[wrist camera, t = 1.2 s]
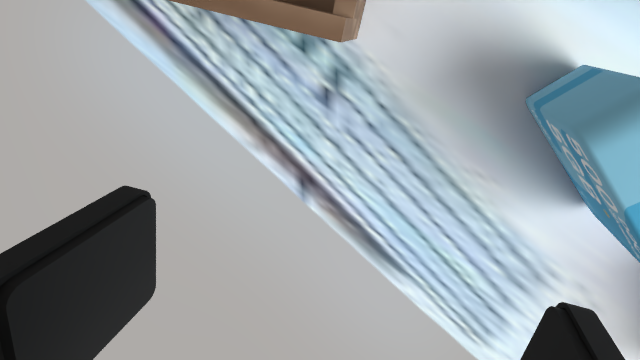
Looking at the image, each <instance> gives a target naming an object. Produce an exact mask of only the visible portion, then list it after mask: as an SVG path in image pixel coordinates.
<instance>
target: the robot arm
mask: <svg viewBox="0 0 640 360" xmlns="http://www.w3.org/2000/svg"><path fill="white" fill-rule="evenodd" d="M155 288H156V203H155V201H154V199H152V198H151V195H150V193H149V192H147V191H145V190H141V189H137V188H133V187H129V186H122V187H120V188H118V189H116V190H115V191H113V192H111V193H109V194H107V195H106V196H104V197H102V198H100V199H98V200H96V201H95V202H93V203H91V204H89V205H87V206H86V207H84V208H82V209H80V210H79V211H77V212H75V213H73V214H71V215H69V216H68V217H66V218H64V219H62V220H61V221H59V222H57V223H55V224H53V225H51V226H50V227H48V228H46V229H44V230H42V231H40V232H39V233H37V234H35V235H33V236H32V237H30V238H28V239H26V240H24V241H22V242H21V243H19V244H17V245H15V246H13V247H12V248H10V249H8V250H6V251H4V252H3V253H1V254H0V360H93V358H95V357H96V356H97V354H98V353H99V352H100V351H101V350H102V349H103V348H104V347H105V346H106V345H107V344H108V343H109V342H110V341H111V340H112V339H113V338H114V337H115V336H116V335H117V334H118V332H119V331H120V330H121V329H122V328H123V327H124V326H125V325H126V324H127V323H128V322H129V321H130V320H131V319H132V318H133V317H134V316H135V315H136V314H137V313H138V311H140V309H141V308H142V307H143V306H144V305H145V304H146V303H147V302H148V301H149V300H150V299H151V297H152V296H153V293H154V291H155ZM521 360H625V359H624V357H623V356H622V354H621V352H620V351H619V349H618V348H617V346H616V345H615V343H614V341H613V340H612V338H611V337H610V335H609V334H608V332H607V331H606V329H605V327H604V326H603V324H602V323H601V321H600V320H599V318H598V316H597V315H596V314H595V312H594V311H592V310H590V309H587V308H583V307H579V306H575V305H572V304H568V303H564V302H562V303H559V304H558V305H557V306H556V307H553V306H551V307H549V308H547V310H546V311H545V313H544V315H543V317H542V319H541V321H540V323H539V325H538V327H537V329H536V331H535V333H534V334H533V336H532V338H531V340H530V342H529V344H528V346H527V348H526V350H525V352H524V354H523V356H522V358H521Z"/></svg>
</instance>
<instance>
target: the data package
mask: <svg viewBox="0 0 640 360" xmlns="http://www.w3.org/2000/svg"><path fill="white" fill-rule="evenodd" d="M526 104H527V106H528V108H529V110H530V112H531V114H532V115H533V117H534V119H535V120H536V122H537V124H538V125H539V127H540V129H541V130H542V132H543V134H544V135H545V137H546V139H547V140H548V142H549V144H550V145H551V147H552V149H553V150H554V152H555V154H556V155H557V157H558V159H559V160H560V162H561V164H562V165H563V167H564V169H565V170H566V172H567V174H568V175H569V177H570V179H571V180H572V182H573V184H574V185H575V187H576V189H577V190H578V192H579V194H580V195H581V197H582V199H583V200H584V202H585V203H586V205H587V206H588V208H589V209H590V210H591V212H592V213H593V214H594V215H595V217H596V218H597V219H598V220H599V221H600V222H601V223H602V224H603V225H604V226H605V227H606V228H607V229H608V230H609V231H610V232H611V233H612V234H613V235H614V236H615V237H616V238H617V240H618V241H619V242H620V243H621V244H622V245H623V246H624V247H625V248H626V249H627V250H628V251H629V252H630V253H631V254H632V255H633V256H634V257H635V258H636V259H637V260H638V261H639V262H640V77H636V76H631V75H627V74H623V73H618V72H614V71H610V70H605V69H601V68H596V67H592V66H588V65H582V66H580V67H578V68H577V69H575V70H573V71H572V72H570V73H568V74H567V75H565V76H563V77H561V78H560V79H558V80H556V81H555V82H553V83H551V84H549V85H548V86H546V87H544V88H543V89H541V90H539V91H538V92H536V93H534V94H532V95H531V96H529V97H528V98H527V99H526Z"/></svg>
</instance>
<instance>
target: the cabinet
mask: <svg viewBox="0 0 640 360" xmlns="http://www.w3.org/2000/svg"><path fill="white" fill-rule="evenodd" d="M169 1H173V2H178V3H182V4H186V5H190V6H194V7H198V8H202V9H206V10H210V11H214V12H218V13H223V14H227V15H231V16H235V17H239V18H243V19H247V20H251V21H255V22H259V23H263V24H268V25H272V26H276V27H280V28H284V29H288V30H292V31H296V32H300V33H304V34H308V35H313V36H317V37H321V38H325V39H329V40H333V41H337V42H345V41H349V40H353V39H357V35H358V31H359V27H360V23H361V19H362V14H363V10H364V6H365V2H366V0H169Z"/></svg>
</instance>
